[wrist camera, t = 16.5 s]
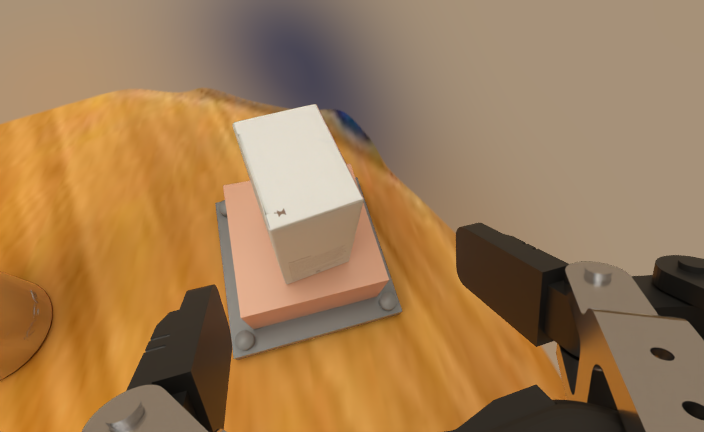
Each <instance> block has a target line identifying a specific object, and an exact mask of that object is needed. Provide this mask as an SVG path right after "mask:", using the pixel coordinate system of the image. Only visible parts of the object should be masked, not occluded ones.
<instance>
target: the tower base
mask: <svg viewBox="0 0 704 432" xmlns="http://www.w3.org/2000/svg"><path fill="white" fill-rule="evenodd" d="M347 166H348V168H349V170H350V172H351V174H352V176H353V178H354V180H355V182H356V184H357V186H358V188H359V190H360V192H361V194H362V196H363V193H362V190H361V187H360V184H359V181H358V178H357V177H355V176H354V173H353V170H352V167H351V164H347ZM223 188H224V196H225V200H224V201H222V202H218V203H216V212H217V220H218V229H219V237H220V246H221V254H222V263H223V271H224V280H225V288H226V297H227V305H228V314H229V322H230V331H231V339H232V348H233V356H234V359H236V360H238V359H242V358H246V357H249V356H253V355H256V354H260V353H263V352H267V351H270V350H274V349H277V348H281V347H284V346H288V345H292V344H295V343H299V342H302V341H306V340H309V339H313V338H316V337H320V336H323V335H327V334H331V333H334V332H338V331H341V330H345V329H348V328H352V327H355V326H359V325H362V324H366V323H369V322H373V321H377V320H380V319H384V318H387V317H391V316H394V315H398V314H400V313H401V312H402V309H401V306H400V303H399V300H398V297H397V294H396V291H395V288H394V285H393V282H392V279H391V276H390V273H389V270H388V267H387V264H386V261H385V258H384V255H383V252H382V249H381V247H380V244H379V241H378V238H377V235H376V232H375V229H374V226H373V223H372V220H371V217H370V214H369V211H368V208H367V205H366V202H365V199H364V201H363V205H362V209H361V213H360V218H359V222H358V226H357V230H356V234H355V238H354V242H353V247H352V251H351V255H350V259H349V261H348V262H346V263H343V264H341V265H338V266H335V267H333V268H330V269H327V270H325V271H322V272H319V273H317V274H314V275H311V276H309V277H306V278H303V279H300V280H298V281H295V282H292V283H290V284H286V283H285V281H284V278H283V275H282V272H281V269H280V266H279V264H278V261H277V258H276V255H275V252H274V249H273V246H272V243H271V240H270V237H269V234H268V231H267V228H266V225H265V223H264V220H263V217H262V214H261V211H260V208H259V205H258V203H257V200H256V196H255V193H254V190H253V187H252V184H251V181H246V182H240V183H235V184H229V185H223ZM363 198H364V196H363Z"/></svg>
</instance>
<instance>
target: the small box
mask: <svg viewBox="0 0 704 432" xmlns="http://www.w3.org/2000/svg"><path fill="white" fill-rule="evenodd" d="M233 129H234V132H235V135H236V138H237V141H238V144H239V147H240V150H241V154H242V157H243V160H244V163H245V166H246V169H247V172H248V175H249V178H250V181H251V184H252V187H253V190H254V193H255V196H256V200H257V203H258V205H259V208H260V211H261V214H262V217H263V220H264V223H265V225H266V228H267V231H268V234H269V237H270V240H271V243H272V246H273V249H274V252H275V255H276V258H277V261H278V264H279V266H280V269H281V272H282V275H283V278H284V281H285V283H286V284H290V283H292V282H295V281H298V280H300V279H303V278H306V277H309V276H311V275H314V274H317V273H319V272H322V271H325V270H327V269H330V268H333V267H335V266H338V265H341V264H343V263H346V262H348V261H349V259H350V255H351V251H352V247H353V242H354V238H355V234H356V230H357V226H358V222H359V218H360V213H361V209H362V205H363V201H364V198H363V196H362V194H361V192H360V190H359V188H358V186H357V184H356V182H355V180H354V178H353V176H352V174H351V172H350V170H349V168H348V166H347V164H346V162H345V160H344V158H343V157H342V155H341V153H340V151H339V149H338V147H337V145H336V142H335V141H334V139H333V137H332V135H331V133H330V131H329V129H328V127H327V125H326V123H325V121H324V119H323V117H322V115H321V113H320V111H319V109H318V106H317V105H316V104H314V105H309V106H304V107H299V108H295V109H291V110H286V111H282V112H277V113H273V114H269V115H264V116H260V117H255V118H251V119H247V120H242V121H238V122H235V123H233Z"/></svg>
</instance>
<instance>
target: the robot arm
mask: <svg viewBox="0 0 704 432" xmlns="http://www.w3.org/2000/svg"><path fill="white" fill-rule="evenodd" d="M456 268H457V274H458V277H459V279H460V281H461V282H462V284H463V285H464V286H465V287H466V288H468V289H469V290H470V291H471V292H472V293H473V294H475V295H476V296H477V297H478V298H479V299H481V300H482V301H483V302H484V303H485V304H486V305H488V306H489V307H490V308H491V309H492V310H494V311H495V312H496V313H497V314H498V315H499V316H501V317H502V318H503V319H504V320H505V321H507V322H508V323H509V324H510V325H511V326H512V327H514V328H515V329H516V330H517V331H518V332H519V333H521V334H522V335H523V336H524V337H525V338H527V339H528V340H529V341H530V342H531V343H532V344H534V345H535V346H536V347H537V346H540V345H543V344H546V343H549V342H552V341H555V342H557V351H556V355H557V360H558V364H559V368H560V373H561V377H562V381H563V385H564V390H565V394H566V398H567V400H551V399H550V398H549V397H548V396H547V395H546V394H545V393H544V392H543V391H542V390H541V389H540V388H539V387H538V386H537V385H534V386H531V387H528V388H525V389H523V390H520V391H517V392H515V393H512V394H509V395H507V396H504V397H501V398H498V399H496V400H493V401H492V402H491V403H490V404H488V405H487V406H486V407H484V408H483V409H482V410H481V411H479V412H478V413H477V414H476V415H474V416H473V417H472V418H470V419H469V420H468V421H467V422H465V423H464V424H463V425H461V426H460V427H459V428H457V429H455V430H453V431H446V432H704V259H701V258H696V257H690V256H679V255H671V256H664V257H660V258H658V259H657V260H656V262H655V267H654V271H653V275H648V276H630V275H629V274H628V273H627V272H625V271H624V270H622V269H620V268H618V267H615V266H612V265H609V264H605V263H600V262H591V261H581V262H575V263H572V264H568V263H566V262H564V261H562V260H560V259H558V258H556V257H553V256H552V255H549V254H547V253H545V252H543V251H541V250H539V249H536V248H535V247H533V246H531V245H529V244H526V243H525V242H523V241H521V240H519V239H517V238H515V237H513V236H509V235H505V234H502V233H500V232H498V231H496V230H494V229H492V228H490V227H488V226H486V225H484V224H482V223H476V224H472V225H467V226H463V227H459V228H458V229H457V232H456ZM51 319H52V306H51V302H50V299H49V297H48V295H47V294H46V293H45V291H44V290H43V289H42V288H40V287H39V286H38V285H36V284H34V283H31V282H29V281H26V280H23V279H20V278H18V277H15V276H12V275H9V274H7V273H4V272H1V271H0V380H1V379H3V378H5V377H7V376H8V375H10V374H11V373H13V372H15V371H16V370H17V369H19V368H20V367H21V366H22V365H23V364H25V363H26V362H27V361H28V360H29V359H30V358H31V357H32V355H33V354H34V353H35V352H36V351H37V350H38V348H39V347H40V345H41V344H42V342H43V341H44V339H45V337H46V335H47V332H48V330H49V328H50V324H51ZM145 351H146V353H144V354H143V356H142V358H141V360H140V362H139V365H138V367H137V369H136V371H135V373H134V375H133V377H132V380H131V382H130V384H129V386H128V388H127V390H126V392H124V393H122V394H120V395H118V396H116V397H115V398H113V399H112V400H110V401H109V402H107V403H106V404H105V405H104V406H102V407H101V408H100V409H99V410H98V411H97V412H96V413H95V414H94V415H93V416H92V417H91V418H90V419H89V421H88V422H87V424H86V425H85V426H84V428H83V430H82V432H226V431H225V430H223V429H224V420H225V410H226V400H227V391H228V381H229V372H230V362H231V353H232V340H231V333H230V329H229V325H228V322H227V318H226V315H225V312H224V309H223V305H222V302H221V299H220V295H219V292H218V289H217V287H216V286H215V285H210V286H205V287H201V288H197V289H192V290H188V291H187V292H186V294H185V297H184V300H183V302H182V305H181V307H180V310H177V311H173V312H170V313H169V314H168V315H167V316H166V317H165V318H164V319H163V320H162V321H161V322H160V323H159V324H158V325H157V326H156V328H155V330H154V332H153V334H152V337H151V341H149V343H148V345H147V347H146V349H145Z"/></svg>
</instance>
